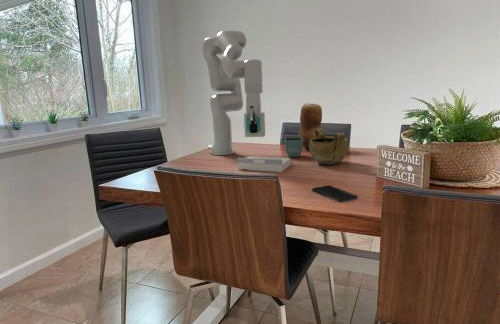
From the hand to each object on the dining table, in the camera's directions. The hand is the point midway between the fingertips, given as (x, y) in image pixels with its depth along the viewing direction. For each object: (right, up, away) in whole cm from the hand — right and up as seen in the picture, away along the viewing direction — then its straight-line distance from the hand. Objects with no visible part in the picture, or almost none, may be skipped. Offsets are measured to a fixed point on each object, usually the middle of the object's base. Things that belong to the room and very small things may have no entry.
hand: (255, 131), depth 157 cm
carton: (0, -2, 0) cm, 2 cm away
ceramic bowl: (+33, -14, +6) cm, 37 cm away
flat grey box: (+4, -15, +4) cm, 16 cm away
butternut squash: (+31, -6, +41) cm, 52 cm away
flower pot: (+20, -11, +24) cm, 33 cm away
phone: (+26, -24, -38) cm, 52 cm away
